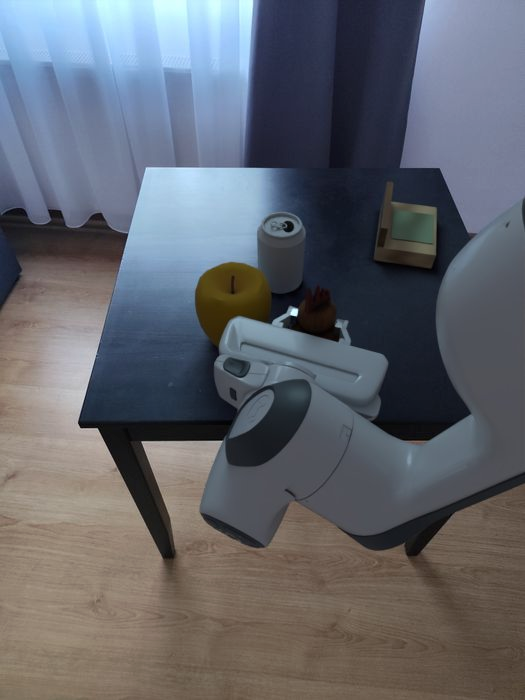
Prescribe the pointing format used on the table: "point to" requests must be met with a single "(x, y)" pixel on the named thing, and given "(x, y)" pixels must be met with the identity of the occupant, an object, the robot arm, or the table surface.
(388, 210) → the l-shaped display stand
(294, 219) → the can
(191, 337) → the table surface
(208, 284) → the apple
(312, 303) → the wooden figurine
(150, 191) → the table surface
